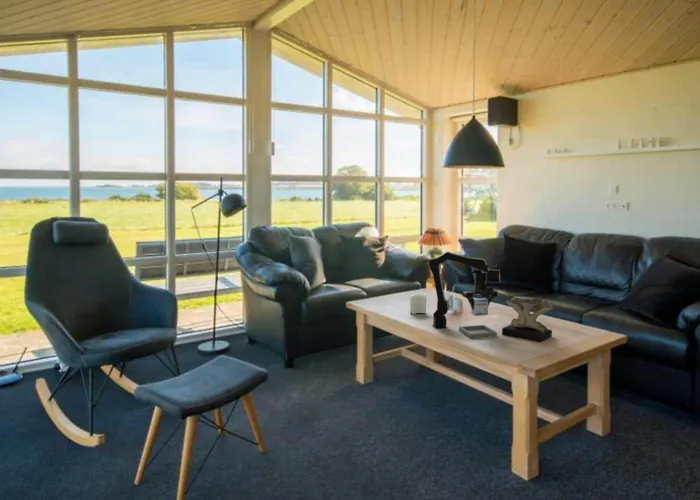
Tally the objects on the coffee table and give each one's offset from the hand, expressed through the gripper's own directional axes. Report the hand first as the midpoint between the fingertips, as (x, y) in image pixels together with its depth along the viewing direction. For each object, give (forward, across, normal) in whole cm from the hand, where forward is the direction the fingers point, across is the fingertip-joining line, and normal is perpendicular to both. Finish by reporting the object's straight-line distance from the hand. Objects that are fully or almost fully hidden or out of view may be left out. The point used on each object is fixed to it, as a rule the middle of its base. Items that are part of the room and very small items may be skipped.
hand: (479, 309), depth 283 cm
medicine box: (+3, 0, 0) cm, 3 cm away
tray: (+12, -4, -6) cm, 14 cm away
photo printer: (+12, -20, +44) cm, 50 cm away
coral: (+12, +18, -19) cm, 29 cm away
